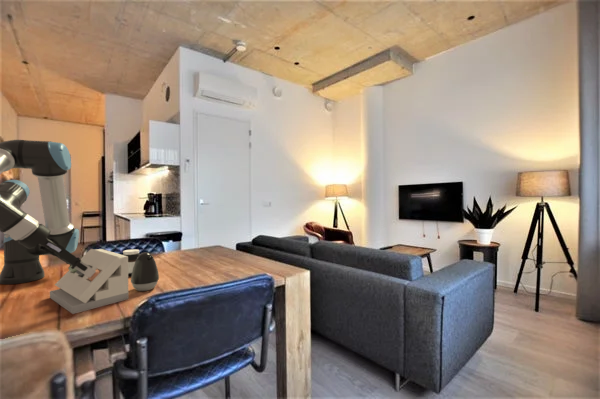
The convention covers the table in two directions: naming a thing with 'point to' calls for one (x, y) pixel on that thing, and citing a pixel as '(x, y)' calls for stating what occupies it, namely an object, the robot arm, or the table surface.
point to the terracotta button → (94, 275)
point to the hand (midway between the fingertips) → (92, 274)
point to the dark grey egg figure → (144, 273)
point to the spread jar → (131, 259)
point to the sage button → (72, 269)
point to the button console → (94, 283)
